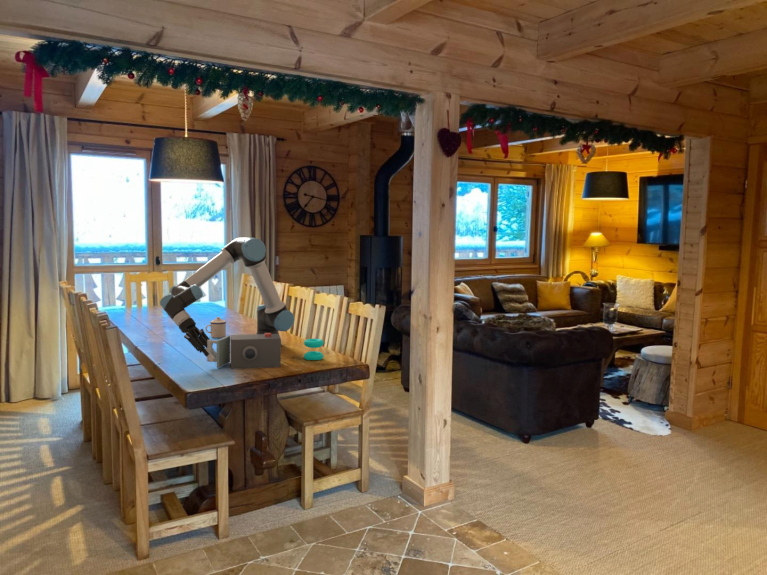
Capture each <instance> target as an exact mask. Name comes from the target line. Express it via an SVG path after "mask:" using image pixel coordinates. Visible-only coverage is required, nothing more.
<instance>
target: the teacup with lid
mask: <svg viewBox="0 0 767 575" xmlns="http://www.w3.org/2000/svg"><path fill="white" fill-rule="evenodd" d="M208 327H210V331H208ZM226 328H227V321H226V320H225V319H222V318H221V317H220V316H216V318H215V319H213V320H211V321H210V324H207V325H206V326H205V331H206V332H205V333H208V334H210V337H211V338H215V339H217V338H220V339H222V338H224V337H226V336H227V335H226V334H227V329H226Z"/></svg>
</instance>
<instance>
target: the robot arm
mask: <svg viewBox="0 0 767 575" xmlns="http://www.w3.org/2000/svg"><path fill="white" fill-rule="evenodd" d="M265 245H266V244H265V243H264V242H263V241H262V240H261V239H258V238H256V237H252V236H250V237H246V236H238V237H236V238H234V239H233V240H231V242H228V243H227V244H226V245H225V246H223V248H221V249H220V252H219V253H218V254H216V255H215V256H214V257H213V258H211V259H210V260H208V261H207V262H206V263H205V264H203V265H202V266H201V267H199V269H197V270H196V271H195V272H193V273H192V274H190V275H189V276H188V277H186V279H183V281H182V282H180V283H179V284H174V285H173V286H171V288H170V289H169V293H168V294H166V295H164V296H163V297H161V299H160V300H159V305H160V307H161V308H162V309H163V311H164V312H165V313H166V314H167V315H168V316H169V318H170V319H171V320H172V321H173V323H174V324H175V326H176V327H178V329H179V330H180V332H181V333H183V334H184V336H183V337H184V339H186V340H187V341H188V342H189V343H190V344H191V346H192V347H193V348H194V349H195V350H196V351H197V352H199V353H200V354H201V353H203V355H204V356H205V357H206V359H207V358H208V359H209V360H210V362H211V363H212V361H213V360H214V359H217V350H215V349H214V348H213V347H212V354H211V352H210V351H209V350H208V349H207V340H211V339H210V337H208V335H207V334H206V332H205V331H204V328H201V329H199V328H198V327H197V326H196V322H195V320H194V319H193V318H192V316H191V315H190V314H189V312H188V311H187V310H186V308H188V306H190V305H192V304H194V303H195V302H197V301H199V300H200V299H202V297H203V296H204V295H203V291H202V289H201V287H202V286H203V285H204V284H206V283H207V282H208V281H209V280H211V279H212V278H213V277H214V276H216V275H217V274H219V273H220V272H221V271H223V270H224V269H225V268H226V267H227V266H229V265H230V264H235V263H236V262H238V261H240V260H242V263H243V265H244V266H245V268H247V269H249V270H250V274H251V276H252V278H253V280H254V282H255V285H256V287H257V289H258V292H259V294H260V296H261V298H262V299H261V300H262V301H263V303H264V304H259V305H257V308H256V309H257V310H256V321H257V322H256V325H257V326H256V333H255V334H264V333H271V334H279V336H280V333H279V332H286V331H289V330H290V329H291V328H292V327H293V325H294V323H295V315H294V313H293V312H292V311H290V310H289V309H288V307H287V304H286V303H285V302H284V301H282V300H281V298H280V295H279V293H278V291H277V288H276V286H275V284H274V282H273V279H272V277H271V274H270V272H269V269H268V267H267V263H266V260H267V256H266V253H267V250H266V249H267V248H266V246H265ZM280 337H281V336H280ZM213 344H214V343H212V346H213Z"/></svg>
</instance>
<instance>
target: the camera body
mask: <svg viewBox="0 0 767 575" xmlns="http://www.w3.org/2000/svg"><path fill="white" fill-rule="evenodd" d="M279 335H280V333H279V334H271V333H264V334H256V333H255V334H253V333H252V334H251V333H249V334H230V368H231V369H232V370H234V369H235V370H238V369H239V370H241V369H242V370H243V369H260V368H261V369H262V368H264V369H265V368H269V369H270V368H281V364H282V363H281V353H282V352H281V349H282V348H281V346H282V340H281V339H282V338H281V336H279Z"/></svg>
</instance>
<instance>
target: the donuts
mask: <svg viewBox="0 0 767 575" xmlns="http://www.w3.org/2000/svg"><path fill="white" fill-rule="evenodd" d="M303 344H304V346H305V347H307V348H311V349H318V348H321V347H322V346H323V345H324V344H325V343H324V340H323V339H320V338H308V339H305V340H304V341H303ZM303 358H304V360H306V361H309V360H318V361H321V360H322V359H324V354H323V353H322V352H321V351H316V350H310V351H307V352H305V353H304V355H303Z"/></svg>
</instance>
